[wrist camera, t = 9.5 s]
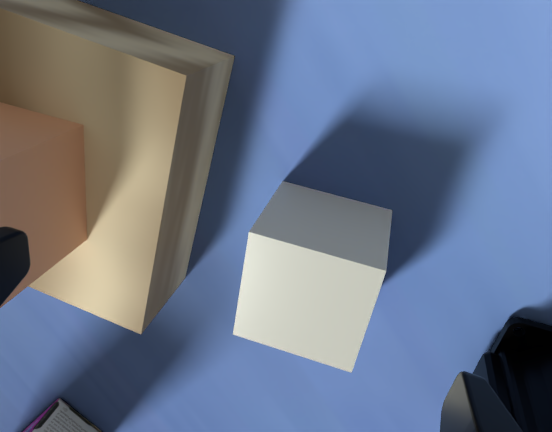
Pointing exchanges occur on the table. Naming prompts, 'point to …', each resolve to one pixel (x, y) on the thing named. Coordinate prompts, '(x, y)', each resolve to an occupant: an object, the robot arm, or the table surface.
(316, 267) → the white cube
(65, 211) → the terracotta cube
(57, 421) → the candy bar box
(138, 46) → the maple block
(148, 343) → the table surface
